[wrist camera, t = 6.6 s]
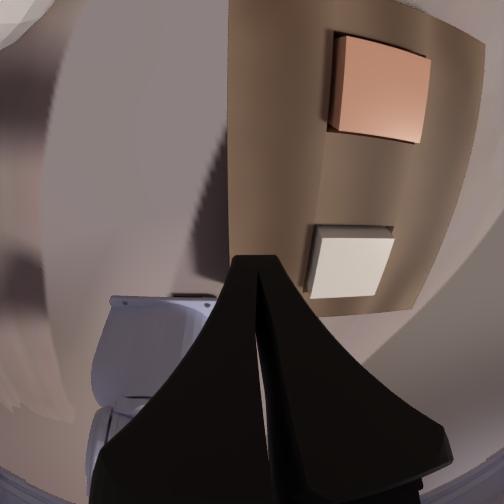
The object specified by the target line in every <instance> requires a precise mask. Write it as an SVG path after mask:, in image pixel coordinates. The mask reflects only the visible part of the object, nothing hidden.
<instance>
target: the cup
mask: <svg viewBox="0 0 504 504" xmlns="http://www.w3.org/2000/svg"><path fill="white" fill-rule="evenodd" d="M55 1H56V0H0V50H1V49H3V48H5V47H7V46H9V45H11V44H12V43H14V42H16V41H17V40H18V39H19V38H20V37H21V36H22V35H23V34H24V33H25V32H26V31H27V30H28V29H29V28H30V27H31V26H32V25H33V24H34V23H36V22H37V21H38V20H39V19H40V18H41V17H42V16H43V15H44V14H45V13H46V12H47V11H48V10H49V9H50V7H51V6H52V5H53V3H54V2H55Z"/></svg>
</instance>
